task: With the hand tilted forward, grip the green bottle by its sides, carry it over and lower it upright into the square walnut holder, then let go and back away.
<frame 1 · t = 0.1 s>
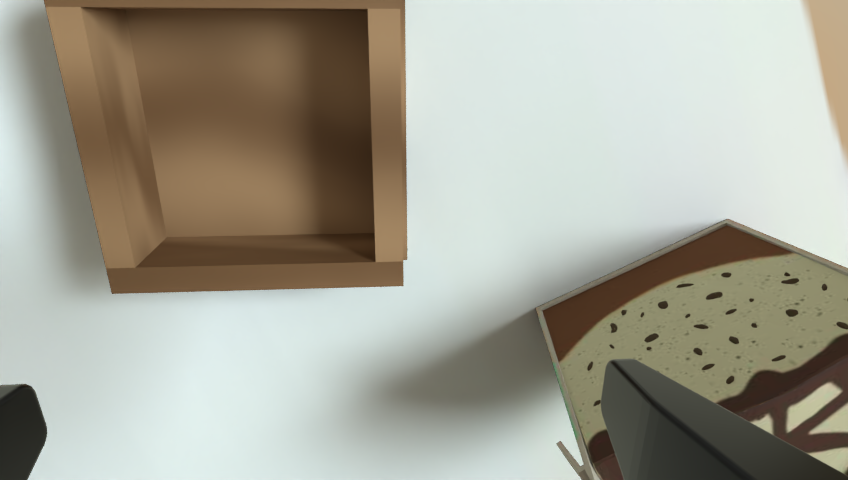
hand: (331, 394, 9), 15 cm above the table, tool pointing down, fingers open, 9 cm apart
food container: (647, 314, 26), on the table
holder: (265, 128, 21), on the table
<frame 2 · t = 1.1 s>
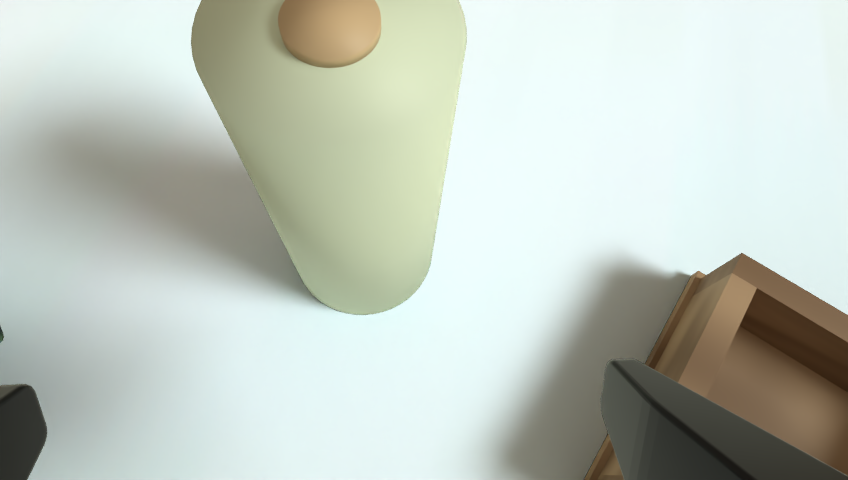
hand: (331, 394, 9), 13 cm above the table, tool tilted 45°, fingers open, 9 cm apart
holder: (763, 461, 21), on the table
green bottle: (364, 248, 24), on the table
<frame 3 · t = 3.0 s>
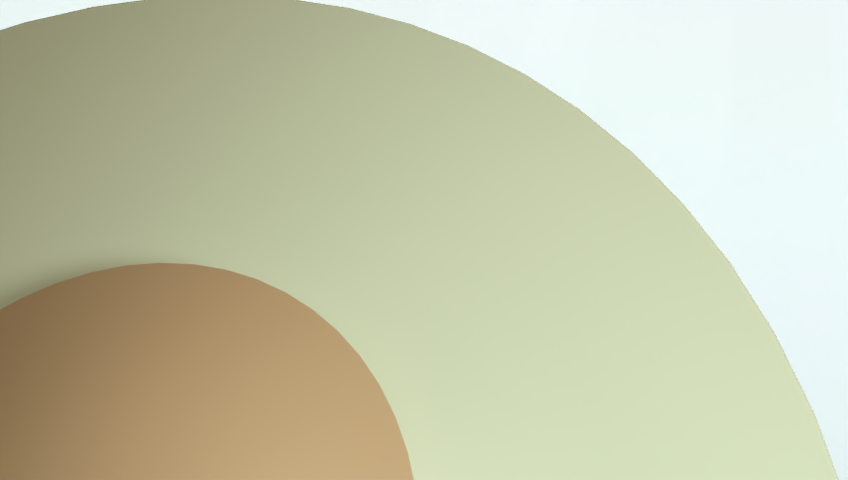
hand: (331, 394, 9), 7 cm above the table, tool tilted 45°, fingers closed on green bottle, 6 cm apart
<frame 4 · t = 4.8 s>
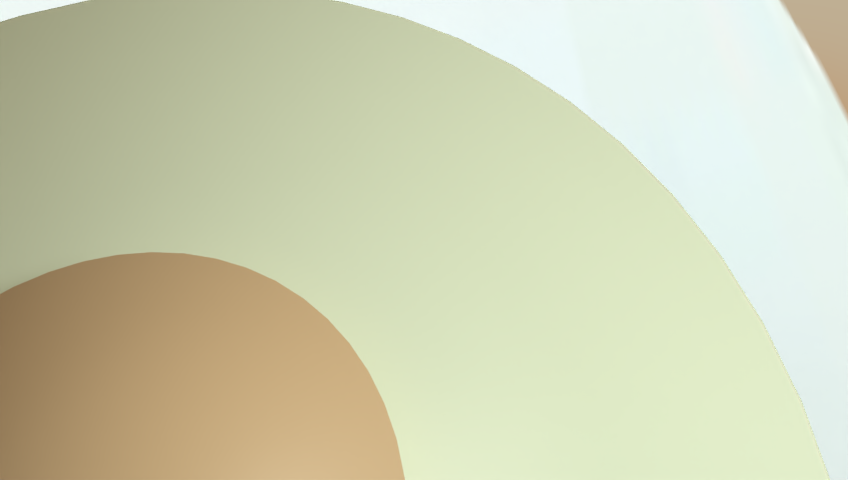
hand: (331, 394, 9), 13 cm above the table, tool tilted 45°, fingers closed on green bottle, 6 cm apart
when the fingers open (8 cm above the table, at t = 6.7 s): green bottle drops 1 cm, resting on holder.
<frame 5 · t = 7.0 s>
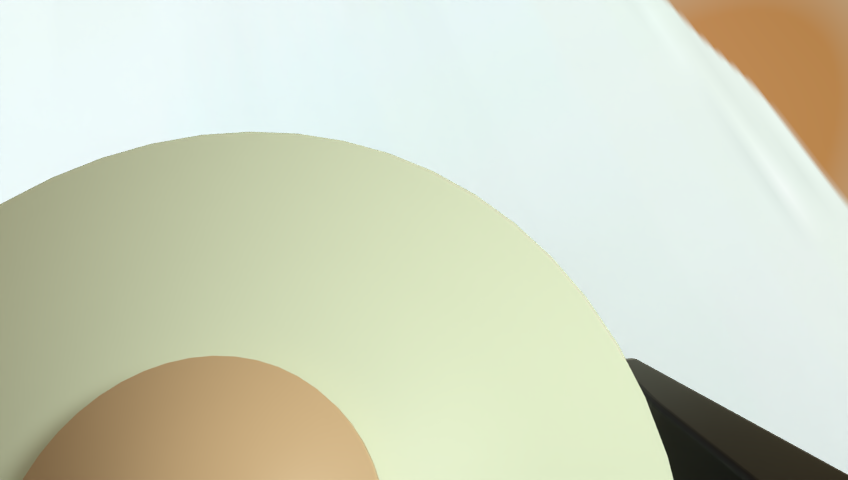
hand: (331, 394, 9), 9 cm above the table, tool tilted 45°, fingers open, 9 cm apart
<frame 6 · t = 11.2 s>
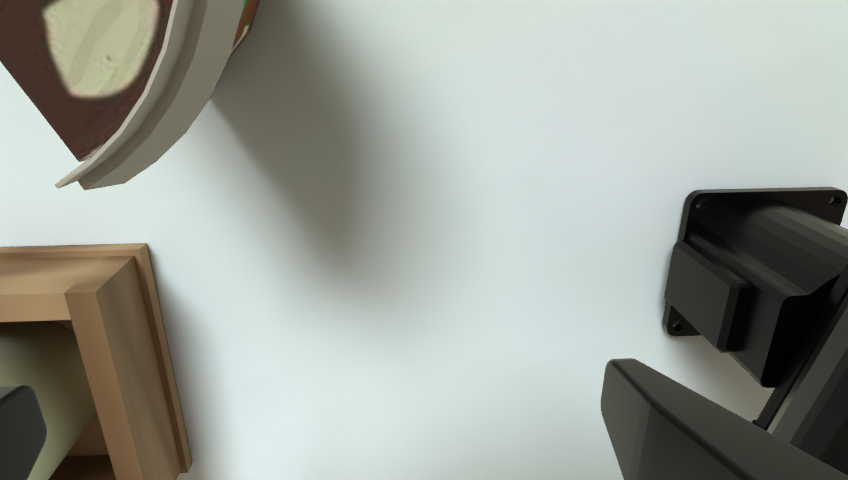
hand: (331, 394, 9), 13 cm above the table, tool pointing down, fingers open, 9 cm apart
holder: (37, 367, 23), on the table
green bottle: (29, 376, 22), point 1 cm above the table, touching holder
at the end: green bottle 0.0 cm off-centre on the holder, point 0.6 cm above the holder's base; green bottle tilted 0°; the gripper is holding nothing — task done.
